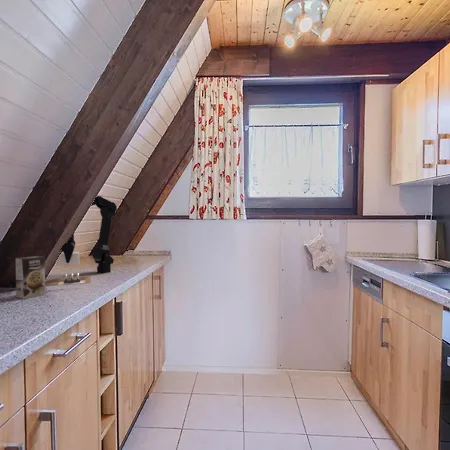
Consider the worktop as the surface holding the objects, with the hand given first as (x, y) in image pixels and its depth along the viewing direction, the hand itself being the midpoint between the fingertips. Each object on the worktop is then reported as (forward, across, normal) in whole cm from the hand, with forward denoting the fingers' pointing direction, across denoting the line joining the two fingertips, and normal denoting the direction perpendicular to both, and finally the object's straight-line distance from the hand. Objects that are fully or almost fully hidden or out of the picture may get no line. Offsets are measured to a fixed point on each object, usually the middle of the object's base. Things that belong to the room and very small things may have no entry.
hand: (68, 262), depth 172 cm
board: (+10, +4, 0) cm, 11 cm away
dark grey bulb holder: (+8, +9, +2) cm, 12 cm away
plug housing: (+1, 0, 0) cm, 1 cm away
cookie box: (+10, +22, -13) cm, 28 cm away
